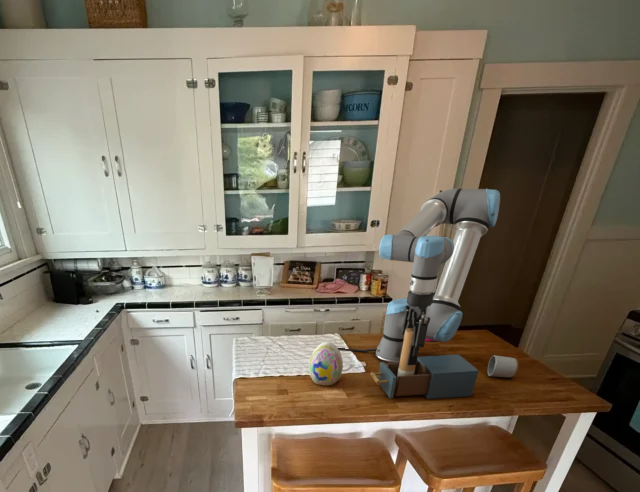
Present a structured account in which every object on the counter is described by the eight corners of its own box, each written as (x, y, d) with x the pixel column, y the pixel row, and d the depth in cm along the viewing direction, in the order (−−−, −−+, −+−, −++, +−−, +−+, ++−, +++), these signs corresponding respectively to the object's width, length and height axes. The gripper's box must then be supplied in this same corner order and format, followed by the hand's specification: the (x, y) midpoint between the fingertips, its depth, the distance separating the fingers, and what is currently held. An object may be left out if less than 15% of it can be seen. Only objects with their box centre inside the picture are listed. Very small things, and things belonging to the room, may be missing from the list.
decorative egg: (304, 385, 155) (306, 347, 147) (312, 371, 164) (314, 334, 156) (337, 390, 151) (341, 351, 143) (344, 376, 161) (347, 338, 152)
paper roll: (392, 385, 149) (402, 330, 138) (401, 380, 152) (411, 326, 141) (406, 390, 146) (417, 334, 135) (414, 385, 149) (425, 330, 137)
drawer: (377, 399, 144) (380, 378, 139) (365, 382, 154) (368, 362, 150) (430, 395, 145) (435, 375, 141) (416, 379, 155) (420, 359, 151)
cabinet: (427, 399, 145) (433, 373, 139) (411, 381, 156) (416, 356, 151) (471, 396, 146) (479, 370, 140) (452, 378, 157) (458, 354, 152)
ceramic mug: (514, 381, 154) (521, 361, 150) (490, 379, 155) (496, 360, 151) (506, 369, 163) (512, 350, 159) (483, 367, 164) (488, 349, 160)
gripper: (398, 284, 138) (387, 351, 151) (421, 300, 123) (407, 373, 136) (420, 283, 139) (408, 349, 152) (446, 299, 123) (430, 371, 136)
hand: (408, 360), depth 144 cm, fingers closed on paper roll, 5 cm apart
